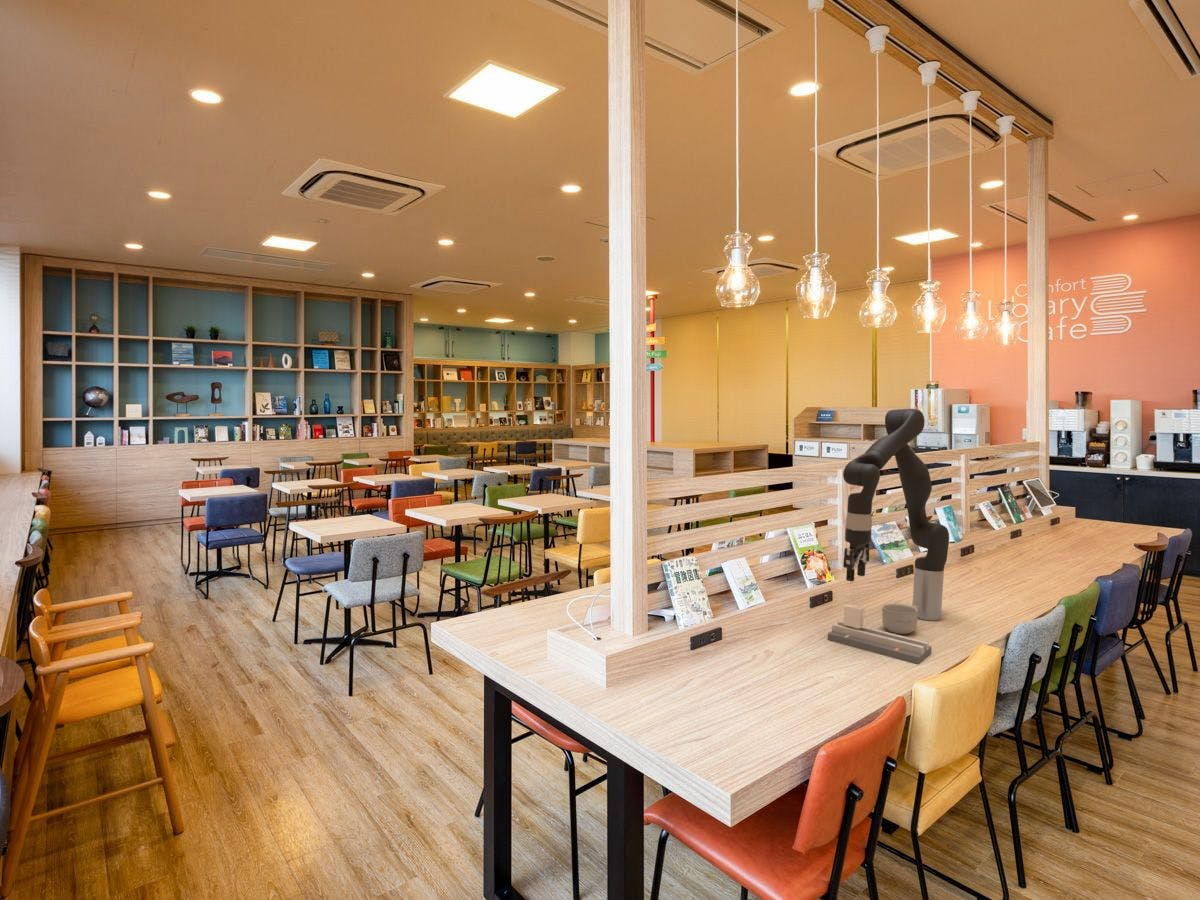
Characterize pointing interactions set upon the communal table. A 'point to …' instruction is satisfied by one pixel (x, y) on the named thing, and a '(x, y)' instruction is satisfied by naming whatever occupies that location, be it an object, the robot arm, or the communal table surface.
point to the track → (878, 648)
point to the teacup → (900, 618)
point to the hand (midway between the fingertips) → (855, 578)
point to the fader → (853, 616)
